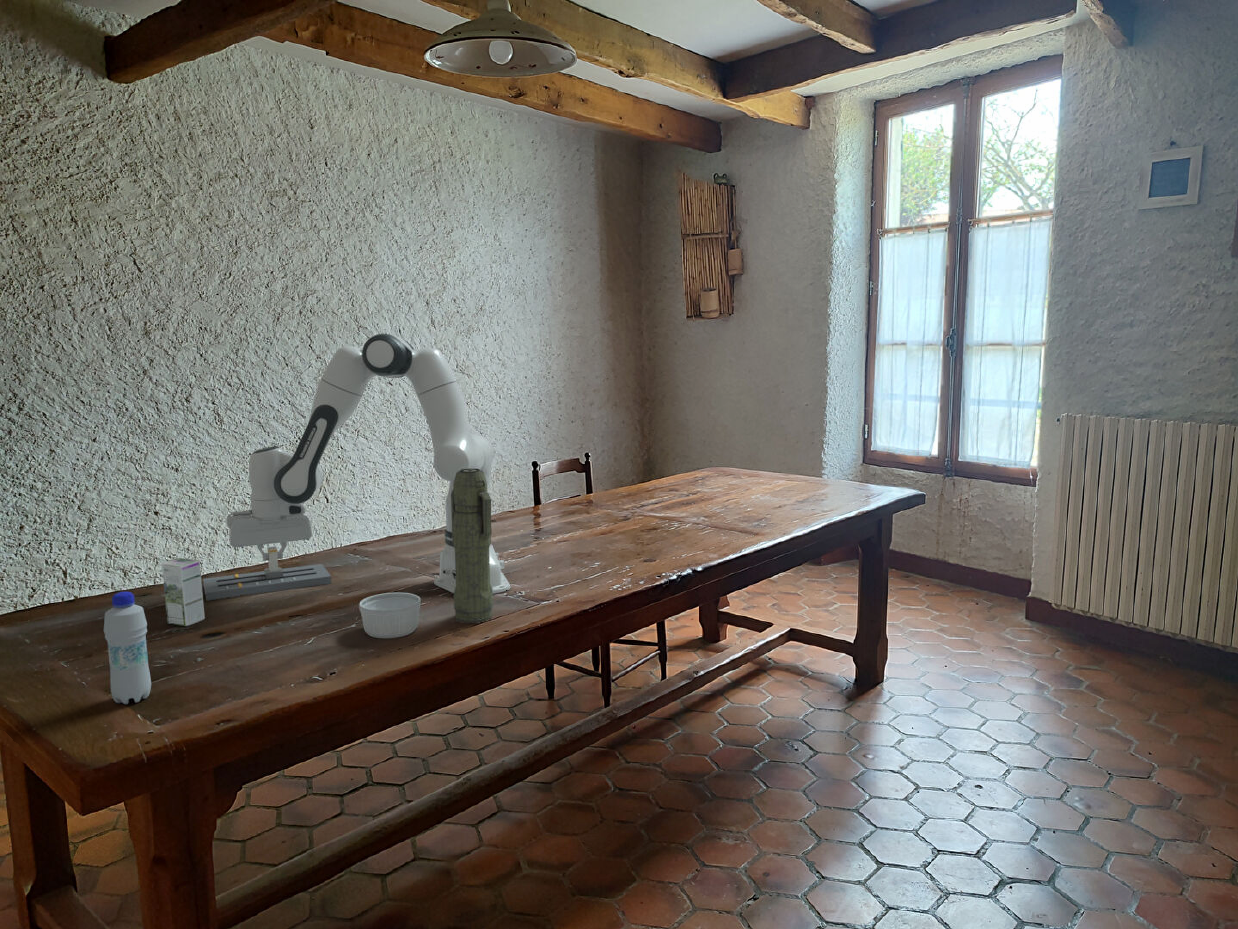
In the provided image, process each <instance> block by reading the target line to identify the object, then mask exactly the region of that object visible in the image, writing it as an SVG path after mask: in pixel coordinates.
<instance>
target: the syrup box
mask: <svg viewBox="0 0 1238 929" xmlns="http://www.w3.org/2000/svg"><path fill="white" fill-rule="evenodd" d="M200 561H201V560H200V559H197V558H195V559H194V558H186V557H185V558H184V557H178V558H174V559H170V560H168V561H165V562H163V563H161V569H162V580H163V591H164V601H165V610H166V621H167V624H169V625H174V626H182V627H188V626H190V625H191V626H192V625H194V624H196V623H200V622H201V621H203V620H205V618H206V617H205V616H206V615H205V608H204V607H205V606H204V598H203V597H204V596H203V586H202V585H203V583H202V572H201V562H200Z"/></svg>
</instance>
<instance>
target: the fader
mask: <svg viewBox="0 0 1238 929" xmlns="http://www.w3.org/2000/svg"><path fill="white" fill-rule="evenodd" d="M266 550H267V553H268V554H269V560H267V561H268V568H264V571H265V576H266V578H267V579H270V578H278V577H283V570H282V569H283V568H282V566H279V562H278V561H279V559H278V556H277V552H278V547H276V546H268V547H267V549H266Z"/></svg>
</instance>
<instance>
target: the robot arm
mask: <svg viewBox="0 0 1238 929" xmlns="http://www.w3.org/2000/svg"><path fill="white" fill-rule="evenodd" d="M376 376H378V377H384V378H389V379H396V378H398V379H399V378H402V377H406V378H407V379H408V380H409V381H410V383H411V384H412V387H413V389H414V392H415V394H416V396H417V399H418V401H419V404H420V406H421V409H422V411H423V414H424V416H425V420H426V422H427V425H428V428H429V432H430V437H431V442H432V443H431V444H432V448H433V449H432V450H433V454H434V456H433V468H434V471H435V473H436V474H437V475H438V477H440V478H441V479H442V480H445V481H447V482H449V486H448V492H447V496H446V498H445V527H446V528H445V529H444V543H445V545H444V548H443V549H442V551H441V552H440V553H439V577H438V578H436V579H434V581H433V584H434V585H435V586H437V587H439V588H441V589H444V590H446V591H447V592H450V593H452V594H454V590H455V587H456V572H455V549H454V547H453V543H452V510H451V493H452V491H453V489H454V488H453V483H454V479H455V476H456V473H457V472H458V471H460V470H461V469H469V468H474V469H480V470H481V471H483V472H484V475H485V478H486V481H487V493H489V490H490V489H489V488H490V482H491V473H492V466H493V465H492V464H493V460H494V456H495V448H494V446H493V444H492V443H491V441H490V440H489V439H488V438H486V437H484V436H482V435H479V434H476V433H472V430H471V426H470V422H469V407H468V404H467V403H466V400H465V397H464V395H463V393H462V390H461V388H460V386H459V382H458V380H457V378H456V375H455V374H454V371H453V369H452V367H451V366H450V364H449V362H448V360H447V358H446V357H445V356H444V354H443V353H442V351H440V350H439V349H438V348H436V347H435V348H434V347H424V348H419V349H416V350H415V349H414V347H413V346H412V344H410V342H408V341H407V340H405V339H403V338H401V337H400V336H398V335H394V334H388V333H378V334H374V335H373V336H371V337H369V338H368V339H367V340H366V341H365V343H364V345H363V348H360V347H358V346H355V345H344V346H341V347H339V348H338V349H337V350H336V352H335V353H334V354H333V357H331V360H330V361H329V362H328V364H327V366H326V367H325V369H324V372H323V374H322V375H321V379H320V380H319V383H318V385H317V388H316V392H315V394H314V399H313V403H312V408H311V409H310V410H311V411H310V414H309V418H308V422H307V425H306V427H305V429H304V431H303V434H302V436H301V439H300V441H299V443H298V445H297V446H296V449H295V452H294V453H291V452H289V451H286V450H284V449H283V447H280V446H276V445H275V446H266V447H263V448H259V449H257V450H255V451H253V452H252V453H251V455H249V461H248V482H249V485H250V488H251V493H250V496H249V497H250V509H248V510H246V509H245V510H242V511H239V510H238V511H232V513H229V514H228V515H227V516H226V517H227V518H226V526H227V528H228V529H229V534H228V538H229V539H228V540H229V541H228V542H229V545H230V547H233V548H234V549H236V548H242V547H253V546H256V547H257V550H258V552H260V554H261V556H262V561H263V562H265V561H266V562H267V561H268V560H269V554H268V552H265V551H264V550H263V549H264V547H265V545H270V544H278V543H279V545H280V546H281V547H280V549H279V551H278V550H277V556H278V560H281V559H282V560H283V559H284V552H285V550H286V548H287V546H288V545H287V542H288V543H290V542H295V541H296V542H297V541H306V540H310V539H311V538H312V537H313V527H312V524H311V520H310V517H309V516H308V514H307V513H306V511H307V509H306V505H305V504H304V503H306V502H308V501H309V500H310V499H311V498H312V497H313V496H314V493H315V492H316V491H317V490H318V489H319V487H320V486H321V485H322V483H323V482H324V478H325V476H324V475H325V473H324V470H323V467H322V465H321V464H320V461H321V459H322V457H323V455H324V453H325V450H326V448H327V446H328V444H329V442H330V440H331V439H332V437H333V435H334V434H335V433H336V432H337V430H339V428H340V427H341V426H342V425H343V424H344V423H345V422H346V421H347V420H349V418H350V417H351V416H352V414H353V413H354V411H356V409H357V407H358V406H359V404H360V401H361V399H362V397H363V395H364V393H365V390H366V387H367V386H368V384H369V382H370V380H371V379H372V378H374V377H376ZM489 556H490V584H491V586H492V589H493V595H495V594H499V593H503V592H507V591H509V590H511V584H510V582H509V581H508V579H507V578H506V576H505V575H504V573H503V572H502V569H503V570H504V569H505V561H504V559H499V552H496V551H495V549H494V546H493V545H492V544H491V545H490V547H489ZM506 590H507V591H506Z"/></svg>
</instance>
